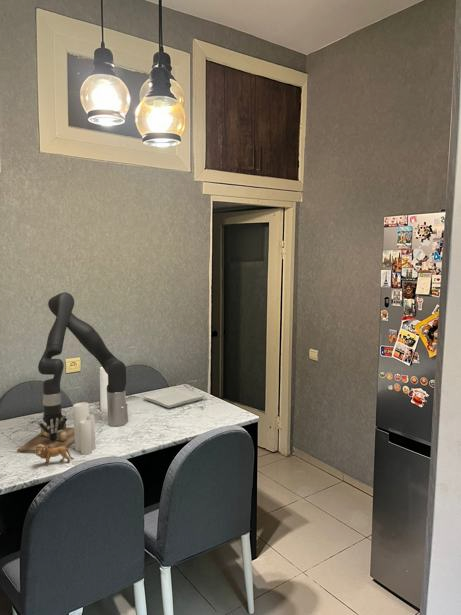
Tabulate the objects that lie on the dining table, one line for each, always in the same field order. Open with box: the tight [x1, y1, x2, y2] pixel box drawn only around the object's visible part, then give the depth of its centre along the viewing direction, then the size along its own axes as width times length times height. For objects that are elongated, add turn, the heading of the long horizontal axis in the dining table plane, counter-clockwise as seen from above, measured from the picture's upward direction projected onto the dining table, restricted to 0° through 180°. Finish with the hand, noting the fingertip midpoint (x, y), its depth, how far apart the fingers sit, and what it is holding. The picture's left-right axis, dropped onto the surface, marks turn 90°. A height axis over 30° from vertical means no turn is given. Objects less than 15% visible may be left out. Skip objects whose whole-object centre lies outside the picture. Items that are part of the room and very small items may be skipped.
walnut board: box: [17, 415, 75, 454], centre depth 213 cm, size 20×28×8 cm
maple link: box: [40, 423, 67, 441], centre depth 213 cm, size 16×4×4 cm, turn 56°
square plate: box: [142, 387, 206, 409], centre depth 274 cm, size 27×27×4 cm
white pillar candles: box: [72, 401, 96, 456], centre depth 202 cm, size 11×7×20 cm, turn 46°
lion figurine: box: [34, 444, 75, 467], centre depth 189 cm, size 15×5×9 cm, turn 116°
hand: (53, 440), depth 207 cm, fingers closed
